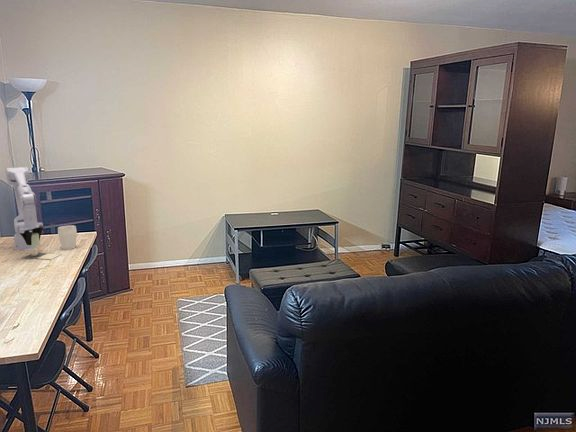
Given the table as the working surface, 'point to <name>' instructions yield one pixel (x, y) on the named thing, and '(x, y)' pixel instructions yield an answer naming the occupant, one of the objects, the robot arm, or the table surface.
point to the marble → (34, 253)
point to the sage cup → (34, 240)
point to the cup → (67, 236)
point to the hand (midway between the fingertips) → (33, 243)
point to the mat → (42, 256)
